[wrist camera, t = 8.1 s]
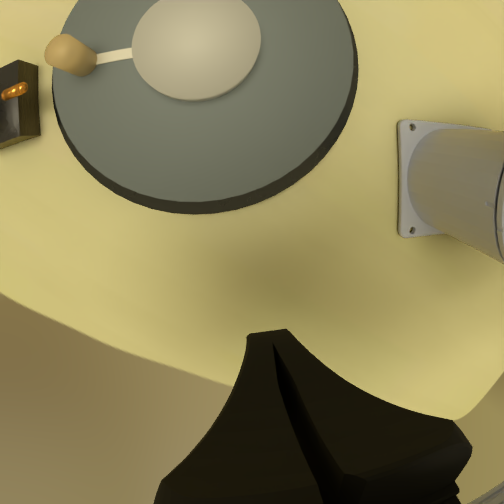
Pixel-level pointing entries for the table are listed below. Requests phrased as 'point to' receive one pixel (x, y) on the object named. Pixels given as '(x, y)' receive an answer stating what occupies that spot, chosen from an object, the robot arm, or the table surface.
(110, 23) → the disc
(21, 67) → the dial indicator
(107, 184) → the plinth
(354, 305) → the table surface
